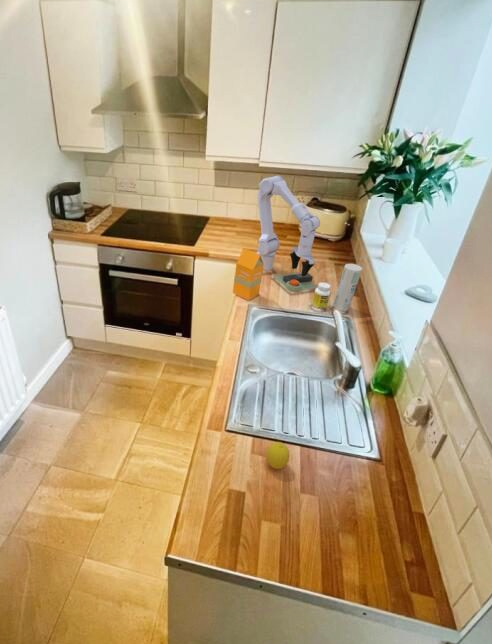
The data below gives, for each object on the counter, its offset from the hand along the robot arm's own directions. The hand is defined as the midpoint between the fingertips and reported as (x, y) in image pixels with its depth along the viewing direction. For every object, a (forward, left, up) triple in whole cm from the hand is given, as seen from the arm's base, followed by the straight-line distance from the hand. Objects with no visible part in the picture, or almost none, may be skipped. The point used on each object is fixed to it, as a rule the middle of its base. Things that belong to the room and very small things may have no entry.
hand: (298, 272), depth 183 cm
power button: (+6, -6, -3) cm, 8 cm away
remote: (0, 0, -4) cm, 5 cm away
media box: (+1, -1, -6) cm, 6 cm away
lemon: (+85, -62, -6) cm, 105 cm away
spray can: (+26, +5, -6) cm, 27 cm away
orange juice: (+2, -28, -6) cm, 29 cm away
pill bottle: (+22, -3, -6) cm, 23 cm away
